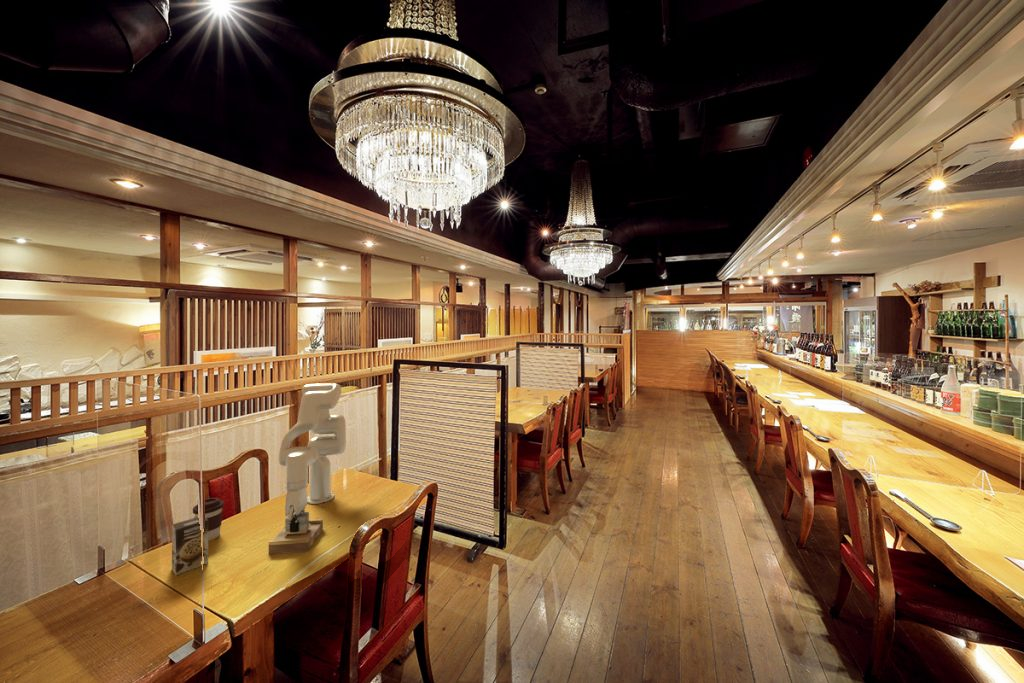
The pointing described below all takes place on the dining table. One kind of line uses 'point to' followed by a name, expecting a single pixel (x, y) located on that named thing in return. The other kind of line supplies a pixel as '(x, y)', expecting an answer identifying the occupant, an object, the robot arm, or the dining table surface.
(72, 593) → the dining table surface
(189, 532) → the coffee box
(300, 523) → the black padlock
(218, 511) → the coffee cup
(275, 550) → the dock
